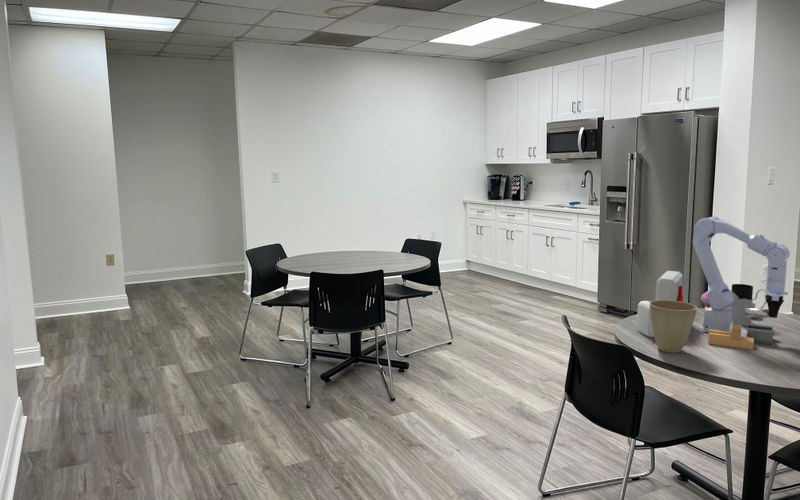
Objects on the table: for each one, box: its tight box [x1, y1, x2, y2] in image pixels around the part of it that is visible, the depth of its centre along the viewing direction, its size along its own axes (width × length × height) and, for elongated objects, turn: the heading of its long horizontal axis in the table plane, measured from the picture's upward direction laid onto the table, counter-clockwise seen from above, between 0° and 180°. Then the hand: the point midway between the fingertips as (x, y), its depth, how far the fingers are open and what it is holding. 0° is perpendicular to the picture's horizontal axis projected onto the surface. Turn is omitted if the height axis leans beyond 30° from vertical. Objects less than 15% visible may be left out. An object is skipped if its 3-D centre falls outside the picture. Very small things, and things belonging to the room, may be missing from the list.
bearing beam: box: [707, 323, 755, 350], centre depth 214 cm, size 14×6×7 cm, turn 60°
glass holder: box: [730, 283, 768, 326], centre depth 242 cm, size 9×14×15 cm, turn 82°
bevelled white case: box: [654, 270, 684, 302], centre depth 240 cm, size 21×8×20 cm, turn 148°
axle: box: [745, 308, 778, 319], centre depth 218 cm, size 10×3×3 cm, turn 60°
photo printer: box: [636, 300, 655, 338], centre depth 228 cm, size 10×4×12 cm, turn 3°
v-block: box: [746, 323, 774, 346], centre depth 219 cm, size 8×10×4 cm
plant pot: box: [649, 300, 698, 354], centre depth 208 cm, size 15×15×16 cm
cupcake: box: [700, 291, 711, 313], centre depth 256 cm, size 9×9×10 cm
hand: (772, 316), depth 217 cm, fingers closed on axle, 3 cm apart
